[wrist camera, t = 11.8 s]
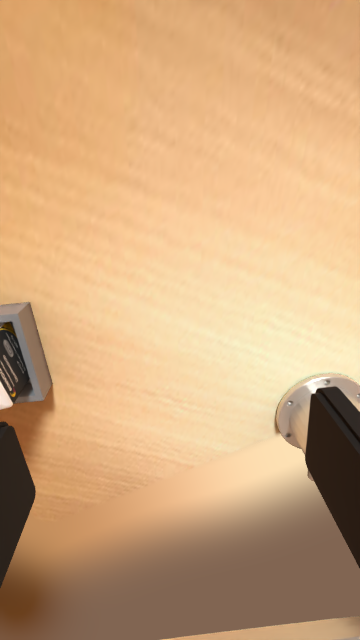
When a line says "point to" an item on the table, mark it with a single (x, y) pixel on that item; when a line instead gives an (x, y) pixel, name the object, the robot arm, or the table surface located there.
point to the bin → (28, 350)
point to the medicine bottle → (11, 366)
